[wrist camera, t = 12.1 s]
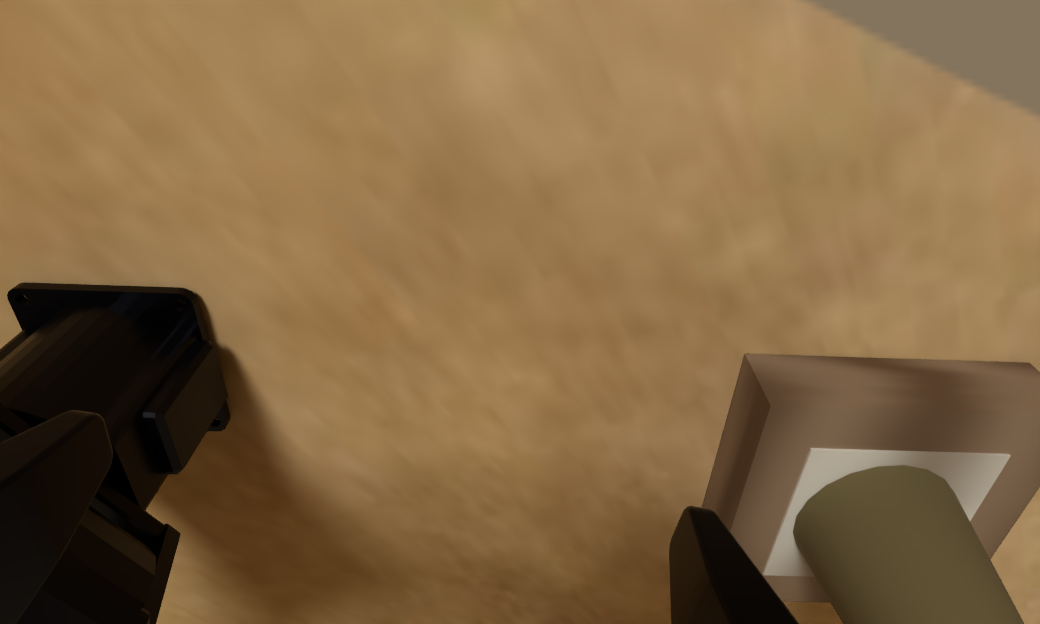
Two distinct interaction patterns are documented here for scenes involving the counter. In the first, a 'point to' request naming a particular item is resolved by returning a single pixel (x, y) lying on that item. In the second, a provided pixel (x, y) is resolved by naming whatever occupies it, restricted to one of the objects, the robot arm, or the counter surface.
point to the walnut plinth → (870, 445)
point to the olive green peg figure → (899, 551)
